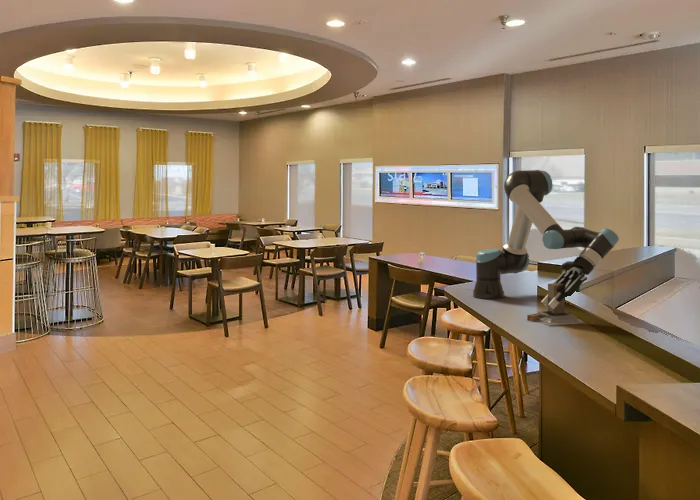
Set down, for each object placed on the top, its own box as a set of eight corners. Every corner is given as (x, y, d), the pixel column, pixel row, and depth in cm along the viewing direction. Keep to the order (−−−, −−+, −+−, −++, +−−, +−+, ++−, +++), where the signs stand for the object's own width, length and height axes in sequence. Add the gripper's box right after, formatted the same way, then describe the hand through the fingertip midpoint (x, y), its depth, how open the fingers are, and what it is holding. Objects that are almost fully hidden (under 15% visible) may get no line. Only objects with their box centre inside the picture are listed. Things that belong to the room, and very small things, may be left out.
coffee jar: (579, 303, 231) (580, 263, 229) (560, 302, 234) (561, 262, 232) (579, 299, 239) (580, 260, 238) (561, 298, 243) (562, 260, 241)
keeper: (530, 317, 207) (530, 310, 207) (562, 315, 209) (562, 308, 209) (548, 326, 194) (548, 318, 193) (582, 323, 196) (582, 315, 195)
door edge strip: (527, 320, 204) (527, 315, 204) (553, 314, 212) (553, 309, 212) (532, 321, 202) (532, 316, 201) (558, 315, 210) (558, 310, 209)
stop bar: (547, 313, 203) (547, 283, 202) (558, 312, 204) (558, 283, 203) (553, 315, 199) (554, 285, 198) (564, 315, 199) (564, 284, 198)
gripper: (606, 271, 193) (565, 316, 192) (579, 265, 210) (541, 307, 210) (593, 258, 192) (552, 303, 191) (567, 253, 209) (529, 295, 208)
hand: (547, 305), depth 200 cm, fingers closed on stop bar, 4 cm apart
